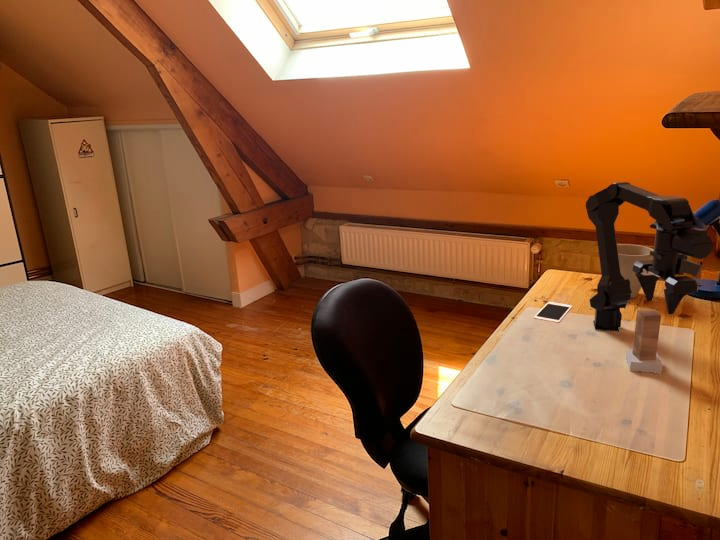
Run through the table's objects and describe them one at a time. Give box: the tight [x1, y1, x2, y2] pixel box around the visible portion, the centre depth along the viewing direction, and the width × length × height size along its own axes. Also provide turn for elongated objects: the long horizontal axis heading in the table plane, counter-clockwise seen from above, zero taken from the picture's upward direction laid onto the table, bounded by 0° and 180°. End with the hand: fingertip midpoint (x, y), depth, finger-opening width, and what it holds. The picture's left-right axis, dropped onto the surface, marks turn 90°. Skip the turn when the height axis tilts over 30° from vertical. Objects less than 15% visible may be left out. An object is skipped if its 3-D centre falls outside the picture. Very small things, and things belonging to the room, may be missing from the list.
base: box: [625, 349, 663, 374], centre depth 139 cm, size 7×7×2 cm
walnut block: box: [632, 308, 662, 361], centre depth 137 cm, size 4×4×12 cm
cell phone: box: [533, 301, 573, 323], centre depth 176 cm, size 8×16×1 cm, turn 145°
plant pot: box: [617, 243, 654, 299], centre depth 185 cm, size 15×15×16 cm
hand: (659, 307), depth 142 cm, fingers open, 9 cm apart
